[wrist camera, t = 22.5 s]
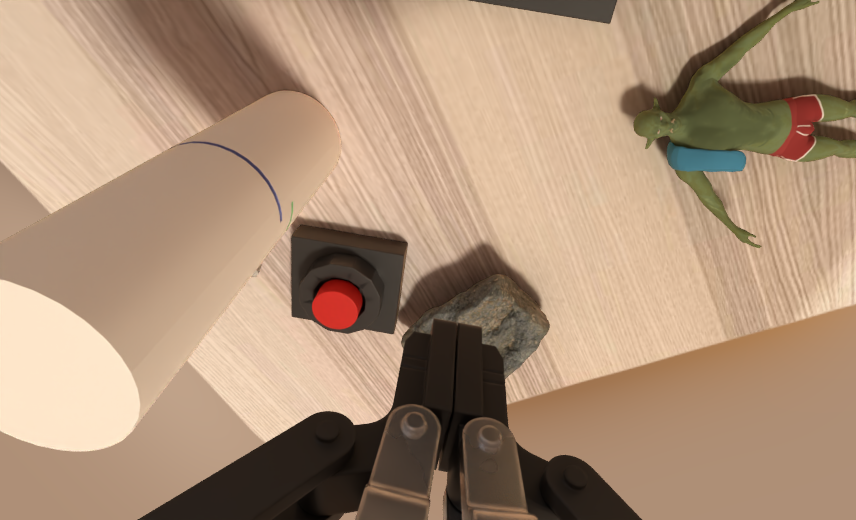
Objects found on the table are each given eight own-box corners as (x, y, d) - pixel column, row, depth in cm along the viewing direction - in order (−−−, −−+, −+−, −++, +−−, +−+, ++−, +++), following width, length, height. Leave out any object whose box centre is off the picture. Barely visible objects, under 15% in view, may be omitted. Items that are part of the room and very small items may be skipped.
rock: (528, 246, 39) (534, 279, 35) (556, 340, 44) (564, 380, 39) (385, 282, 42) (375, 317, 38) (425, 367, 47) (419, 407, 42)
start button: (317, 312, 40) (311, 325, 38) (318, 275, 38) (312, 287, 37) (361, 319, 40) (356, 333, 38) (364, 283, 38) (359, 295, 37)
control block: (299, 302, 44) (283, 330, 41) (300, 223, 40) (282, 247, 37) (397, 319, 44) (390, 348, 41) (408, 242, 40) (401, 267, 37)
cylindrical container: (331, 86, 34) (78, 270, 13) (348, 182, 38) (172, 453, 16) (235, 94, 35) (-151, 278, 14) (261, 187, 39) (-15, 450, 17)
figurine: (904, 258, 32) (623, 247, 33) (857, 239, 36) (606, 230, 36) (1009, -15, 26) (669, -21, 27) (941, -4, 30) (644, -9, 31)
